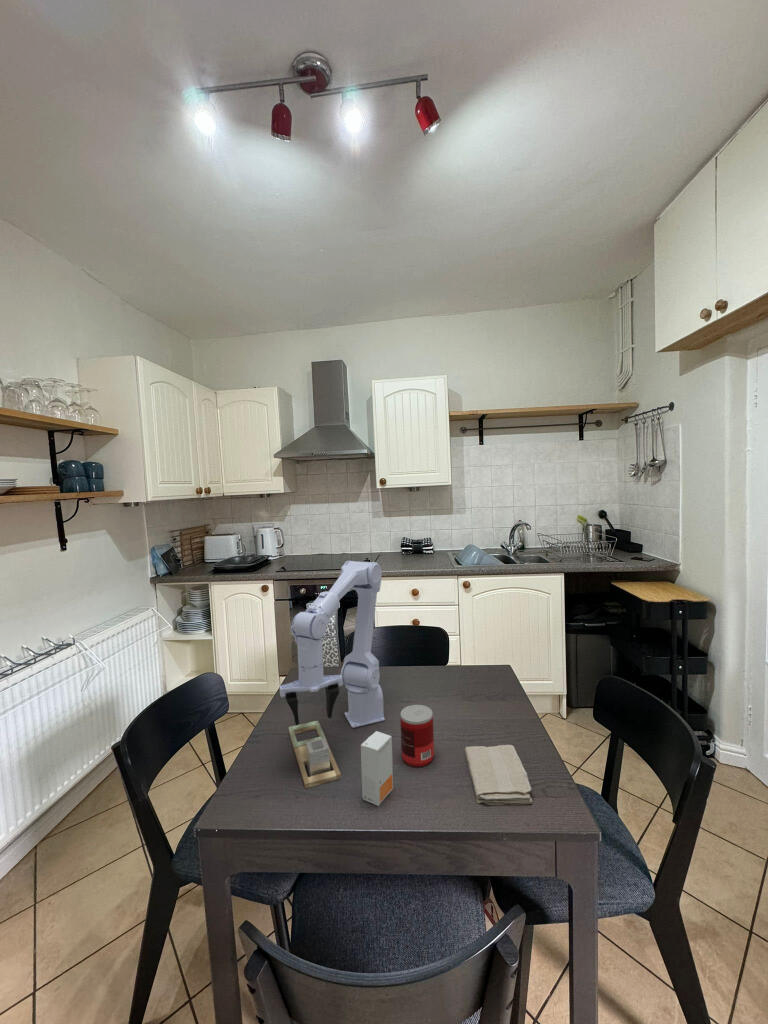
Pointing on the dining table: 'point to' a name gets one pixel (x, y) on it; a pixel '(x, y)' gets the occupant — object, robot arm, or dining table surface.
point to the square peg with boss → (317, 757)
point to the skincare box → (376, 768)
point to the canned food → (417, 735)
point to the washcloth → (498, 775)
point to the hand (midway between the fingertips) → (313, 719)
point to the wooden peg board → (302, 758)
